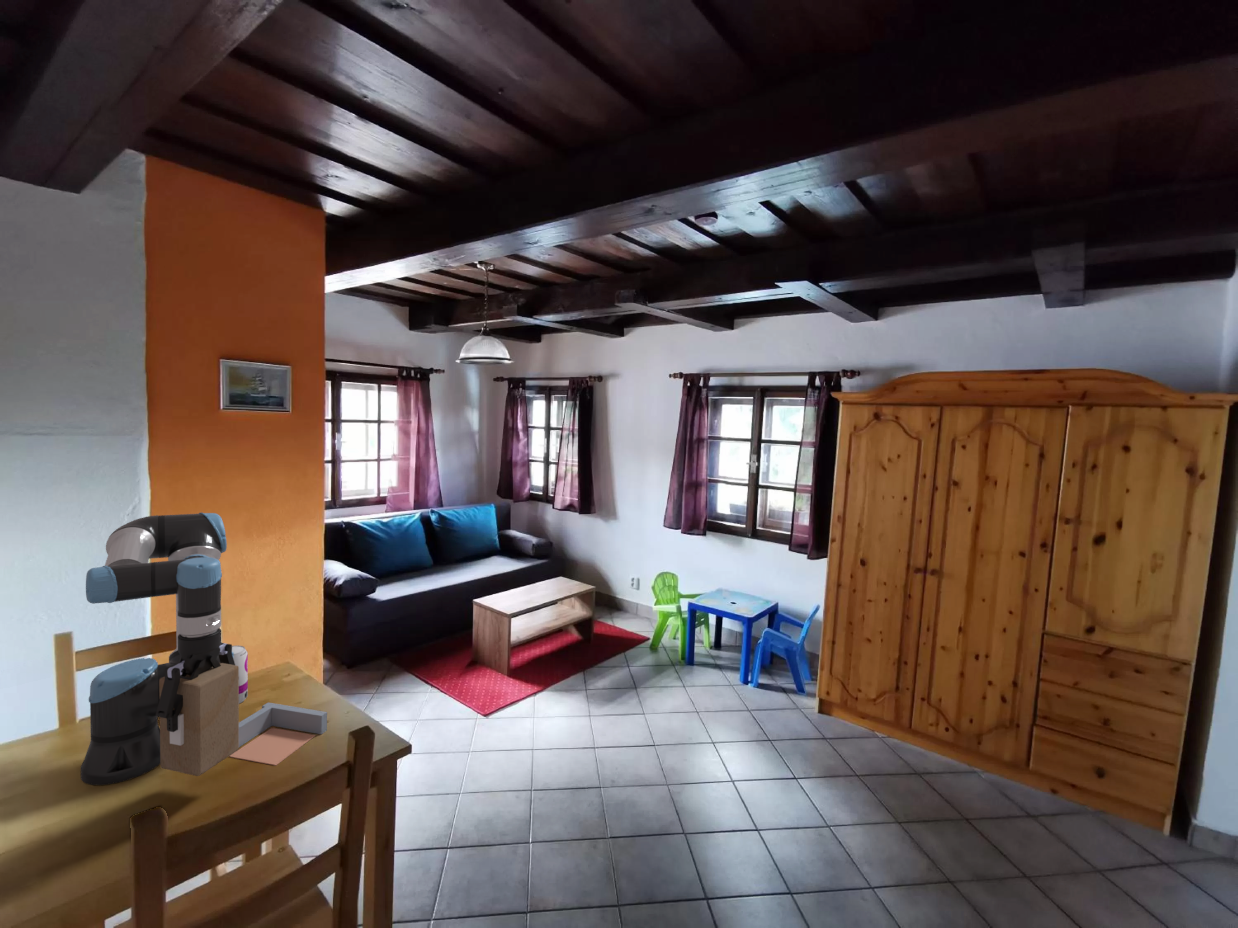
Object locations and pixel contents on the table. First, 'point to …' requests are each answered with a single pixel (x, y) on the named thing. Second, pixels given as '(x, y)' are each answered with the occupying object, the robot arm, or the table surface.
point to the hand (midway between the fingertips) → (200, 729)
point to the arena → (277, 732)
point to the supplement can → (241, 670)
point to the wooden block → (204, 721)
